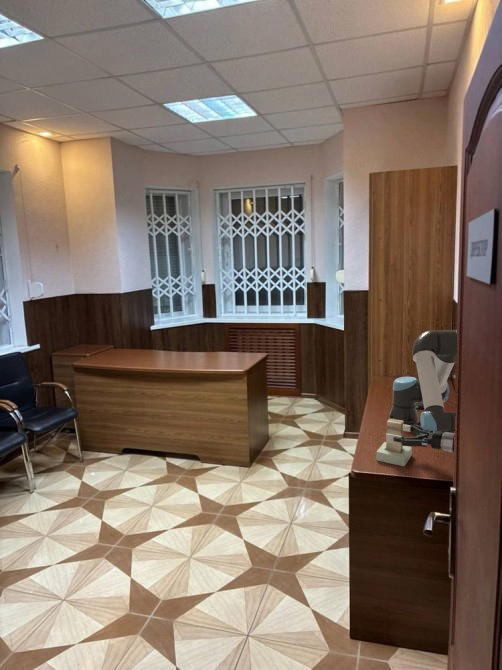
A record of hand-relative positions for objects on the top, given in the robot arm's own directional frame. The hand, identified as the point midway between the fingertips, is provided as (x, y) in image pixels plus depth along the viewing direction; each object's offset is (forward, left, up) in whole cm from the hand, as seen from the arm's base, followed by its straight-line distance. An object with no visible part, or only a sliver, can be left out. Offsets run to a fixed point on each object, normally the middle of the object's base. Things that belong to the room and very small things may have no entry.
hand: (390, 431), depth 204 cm
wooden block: (0, +2, -11) cm, 11 cm away
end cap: (0, +2, -12) cm, 12 cm away
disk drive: (-76, -7, -13) cm, 77 cm away
